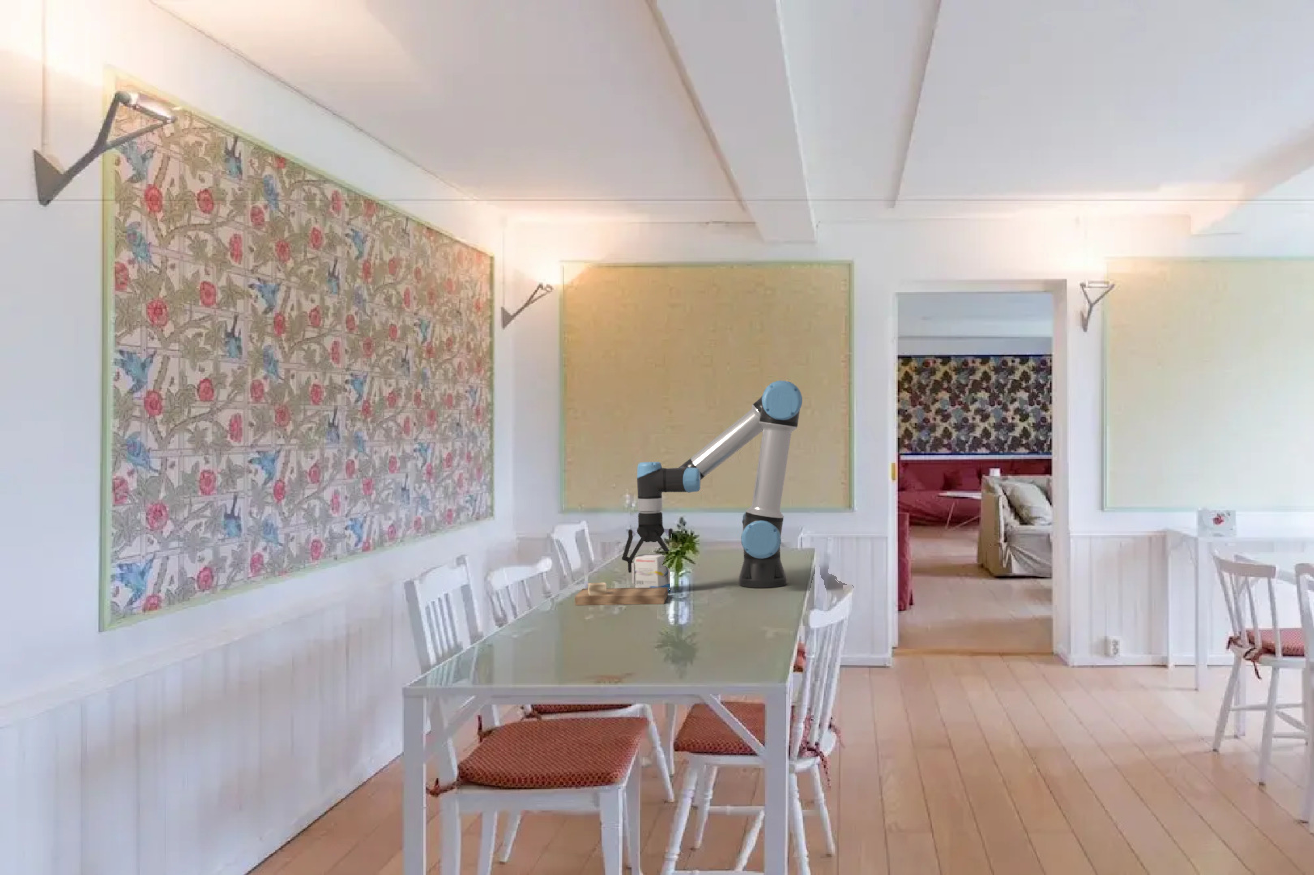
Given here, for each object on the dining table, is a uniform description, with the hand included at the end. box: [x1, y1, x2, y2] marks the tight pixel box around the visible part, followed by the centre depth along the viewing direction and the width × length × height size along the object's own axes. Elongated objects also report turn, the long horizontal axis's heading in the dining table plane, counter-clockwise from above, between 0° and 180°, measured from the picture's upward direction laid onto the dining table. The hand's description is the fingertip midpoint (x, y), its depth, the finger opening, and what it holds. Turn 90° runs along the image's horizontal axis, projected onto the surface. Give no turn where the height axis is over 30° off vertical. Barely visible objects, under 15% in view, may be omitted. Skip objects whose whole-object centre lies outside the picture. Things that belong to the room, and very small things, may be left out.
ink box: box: [633, 552, 670, 593], centre depth 315 cm, size 9×8×12 cm
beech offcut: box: [587, 582, 607, 596], centre depth 300 cm, size 5×4×3 cm
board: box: [574, 587, 669, 606], centre depth 303 cm, size 26×14×3 cm, turn 85°
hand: (651, 583), depth 314 cm, fingers open, 11 cm apart
